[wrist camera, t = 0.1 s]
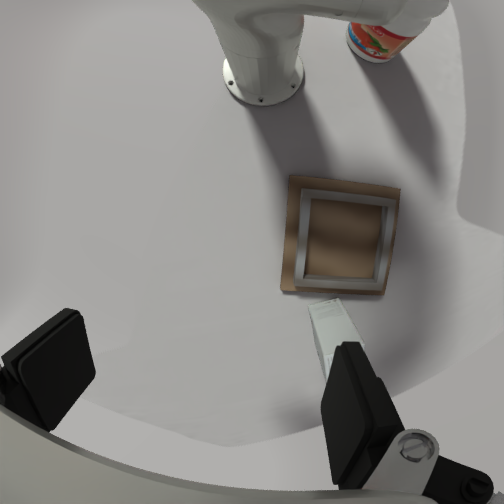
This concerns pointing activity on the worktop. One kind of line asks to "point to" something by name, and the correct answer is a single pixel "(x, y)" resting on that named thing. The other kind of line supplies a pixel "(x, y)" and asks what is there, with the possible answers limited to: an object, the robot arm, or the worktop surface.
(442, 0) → the fruit juice
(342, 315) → the skincare box
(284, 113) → the worktop surface
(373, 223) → the tray
